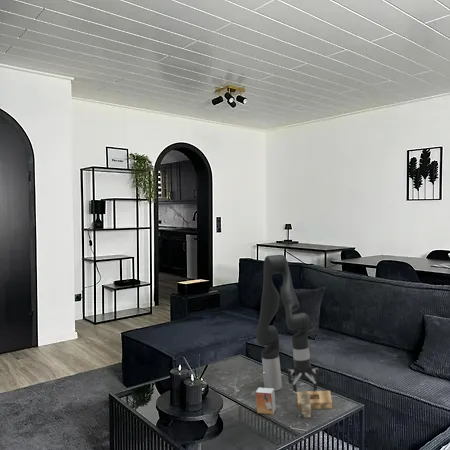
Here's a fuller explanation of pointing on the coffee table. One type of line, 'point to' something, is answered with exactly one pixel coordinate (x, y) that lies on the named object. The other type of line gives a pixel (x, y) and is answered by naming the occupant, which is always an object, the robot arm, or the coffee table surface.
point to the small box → (265, 400)
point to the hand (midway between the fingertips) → (305, 391)
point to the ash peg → (306, 405)
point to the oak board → (317, 399)
